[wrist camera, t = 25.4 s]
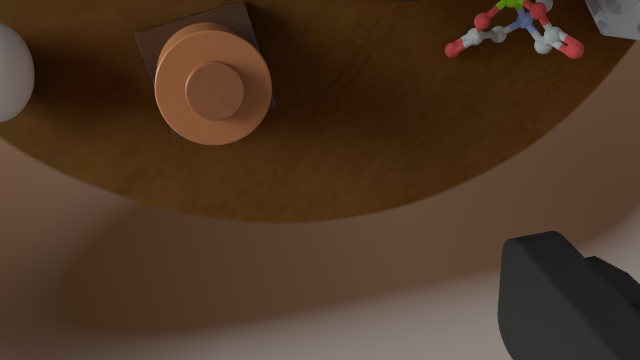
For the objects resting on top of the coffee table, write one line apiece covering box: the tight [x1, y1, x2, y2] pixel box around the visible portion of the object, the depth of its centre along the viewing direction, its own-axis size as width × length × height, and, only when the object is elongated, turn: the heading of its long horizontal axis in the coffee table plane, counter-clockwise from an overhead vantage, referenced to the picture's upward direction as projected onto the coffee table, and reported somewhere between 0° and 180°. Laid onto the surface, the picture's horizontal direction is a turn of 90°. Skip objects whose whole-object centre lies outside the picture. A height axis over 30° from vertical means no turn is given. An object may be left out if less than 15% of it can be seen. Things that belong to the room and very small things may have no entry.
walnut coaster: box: [135, 0, 276, 139], centre depth 36 cm, size 7×7×2 cm
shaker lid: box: [155, 23, 272, 145], centre depth 33 cm, size 6×6×6 cm
